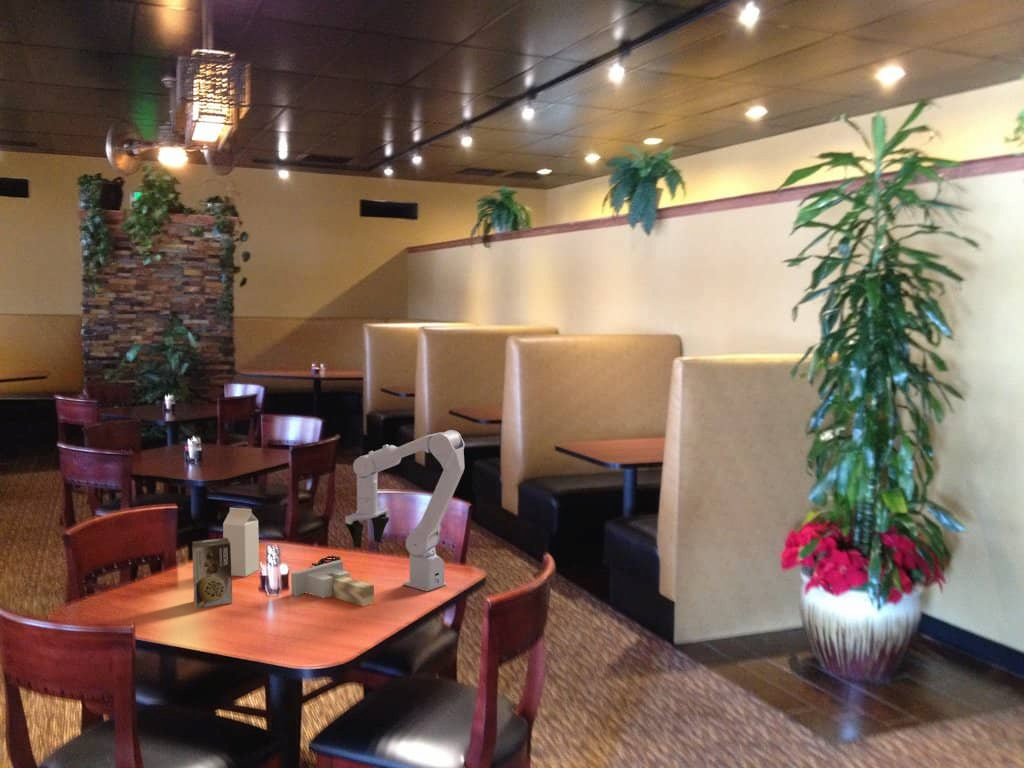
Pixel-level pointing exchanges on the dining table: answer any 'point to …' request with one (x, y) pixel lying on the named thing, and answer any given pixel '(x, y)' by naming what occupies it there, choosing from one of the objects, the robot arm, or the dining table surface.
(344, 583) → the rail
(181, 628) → the dining table surface
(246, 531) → the milk carton
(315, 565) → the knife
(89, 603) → the dining table surface
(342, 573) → the grey stepped block
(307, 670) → the dining table surface
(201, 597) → the grey food box
